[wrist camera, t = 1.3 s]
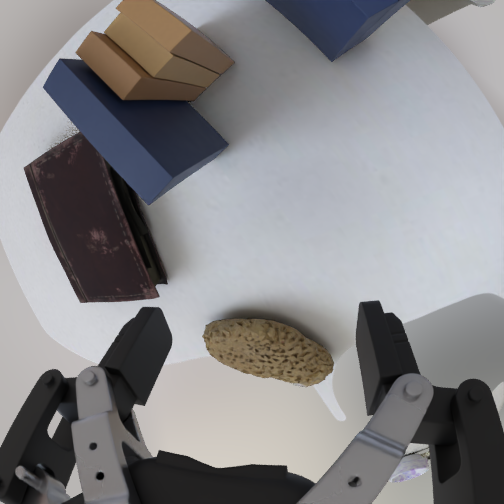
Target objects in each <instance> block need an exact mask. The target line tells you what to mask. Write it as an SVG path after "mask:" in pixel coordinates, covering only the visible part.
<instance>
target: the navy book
mask: <svg viewBox="0 0 504 504" xmlns="http://www.w3.org/2000/svg"><path fill="white" fill-rule="evenodd" d="M43 88H44V89H45V91H46V92H47V93H48V94H49V95H50V97H51V98H52V99H53V100H54V101H55V103H56V104H57V105H58V106H59V107H60V108H61V110H62V111H63V112H64V113H65V114H66V115H67V117H68V118H69V119H70V120H71V121H72V122H73V124H74V125H75V126H76V127H77V128H78V129H79V130H80V132H81V133H82V134H83V135H84V136H85V137H86V138H87V140H88V141H89V142H90V143H91V144H92V145H93V146H94V147H95V148H96V150H97V151H98V152H99V153H100V154H101V155H102V156H103V157H104V158H105V160H106V161H107V162H108V163H109V164H110V165H111V166H112V167H113V168H114V169H115V170H116V172H117V173H118V174H119V175H120V176H121V177H122V178H123V179H124V180H125V181H126V182H127V183H128V184H129V185H130V187H131V188H132V189H133V190H134V191H135V192H136V193H137V194H138V195H139V196H140V197H141V198H142V199H143V200H144V201H145V202H146V203H147V204H148V205H150V204H151V203H153V202H154V201H155V200H157V199H158V198H159V197H161V196H162V195H163V194H165V193H166V192H167V191H169V190H170V189H172V188H173V187H174V186H176V185H177V184H178V183H180V182H181V181H183V180H184V179H186V178H187V177H188V176H190V175H191V174H193V173H194V172H196V171H197V170H199V169H200V168H202V167H203V166H205V165H206V164H208V163H209V162H211V161H212V160H213V159H214V158H216V157H217V156H218V155H219V154H220V153H221V152H222V151H223V150H224V149H225V148H226V147H227V146H228V145H229V144H228V143H227V142H226V141H225V140H224V139H223V138H222V137H221V135H220V134H219V133H218V132H217V131H216V130H215V129H214V128H213V127H212V126H211V125H210V124H209V123H208V122H207V121H206V120H205V119H204V118H203V117H202V116H201V115H200V114H199V113H198V112H197V111H196V110H195V109H194V108H193V107H192V106H191V105H190V104H189V103H188V102H187V101H185V100H122V99H121V98H120V97H119V96H118V95H117V94H116V93H115V92H114V91H113V90H112V89H111V88H110V87H109V86H108V85H107V84H106V83H105V82H104V81H103V80H102V79H101V78H100V77H99V76H98V75H97V74H96V73H95V72H94V71H93V70H92V69H91V68H90V67H89V66H88V65H87V64H86V63H85V62H84V61H83V60H76V59H59V60H58V62H57V63H56V65H55V67H54V68H53V70H52V72H51V74H50V75H49V77H48V79H47V81H46V82H45V84H44V86H43Z"/></svg>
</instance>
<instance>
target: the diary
mask: <svg viewBox="0 0 504 504" xmlns="http://www.w3.org/2000/svg"><path fill="white" fill-rule="evenodd" d="M24 171H25V174H26V177H27V180H28V183H29V186H30V189H31V191H32V194H33V197H34V199H35V202H36V205H37V207H38V210H39V213H40V216H41V219H42V222H43V224H44V227H45V230H46V232H47V235H48V238H49V240H50V242H51V245H52V247H53V249H54V251H55V253H56V255H57V257H58V259H59V261H60V263H61V265H62V267H63V269H64V270H65V272H66V275H67V277H68V279H69V281H70V283H71V285H72V287H73V289H74V291H75V293H76V295H77V297H78V299H79V301H80V303H87V302H121V301H135V300H144V299H153V298H158V297H159V294H158V292H157V290H156V288H155V286H156V285H157V284H168V283H167V278H166V275H165V272H164V270H163V267H162V264H161V262H160V259H159V256H158V253H157V251H156V248H155V245H154V243H153V240H152V238H151V235H150V233H149V230H148V228H147V225H146V223H145V220H144V218H143V215H142V212H141V210H140V207H139V203H138V200H137V196H136V193H135V191H134V190H133V189H132V188H131V187H130V185H129V184H128V183H127V182H126V181H125V180H124V179H123V178H122V177H121V176H120V175H119V174H118V173H117V172H116V170H115V169H114V168H113V167H112V166H111V165H110V164H109V163H108V162H107V161H106V160H105V158H104V157H103V156H102V155H101V154H100V153H99V152H98V151H97V150H96V148H95V147H94V146H93V145H92V144H91V143H90V142H89V141H88V140H87V138H86V137H85V136H84V135H83V134H82V133H81V132H79V133H77V134H76V135H74V136H72V137H70V138H69V139H67V140H65V141H63V142H62V143H60V144H58V145H57V146H55V147H54V148H52V149H50V150H49V151H47V152H46V153H44V154H43V155H41V156H40V157H38V158H37V159H36V160H34V161H33V162H31V163H30V164H28V165H27V166H26V167H24Z"/></svg>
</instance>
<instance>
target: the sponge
mask: <svg viewBox="0 0 504 504" xmlns="http://www.w3.org/2000/svg"><path fill="white" fill-rule="evenodd" d="M202 337H203V338H204V342H206V348H207V350H208V351H209V353H210V355H211V356H213V357H214V358H216V359H217V360H218V361H219V362H221V363H223V364H224V365H227V366H229V367H232V368H234V369H237V370H239V371H241V372H243V373H246V374H252V375H255V376H257V377H262V378H269V377H272V378H275V379H279V380H283V381H285V382H290V383H293V385H297V386H302V387H308V386H312V385H314V384H318V383H320V382H321V381H323V380H325V377H326V376H328V374H330V373H332V371H333V369H332V368H333V365H334V362H333V360H332V357H331V355H330V354H329V353H328V351H327V350H326V349H325V348H323V346H321V345H319V344H318V343H316V342H314V341H312V340H310V339H307V338H305V336H304V335H303V334H301V333H300V332H299V331H298V330H296V329H295V328H292V327H290V326H288V325H285V324H282V323H278V322H276V321H273V320H265V319H249V318H248V319H243V318H241V319H224V320H217V321H213V322H211V323H210V324H208V325H206V329H205V331H204V334H203V336H202Z"/></svg>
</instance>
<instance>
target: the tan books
mask: <svg viewBox="0 0 504 504" xmlns="http://www.w3.org/2000/svg"><path fill="white" fill-rule="evenodd" d="M116 9H117V10H118V11H120V12H121V13H120V14H119V15H118V16H117V17H116V19H115V20H114V21H113V22H112V23H111V24H110V26H109V27H108V28H107V29H106V30H105V32H104V33H105V34H102V33H98V32H93V31H91V32H90V33H89V35H88V36H87V37H86V39H85V40H84V41H83V43H82V44H81V46H80V47H79V48H78V50H77V51H76V54H77V55H78V56H79V57H80V58H81V59H82V60H83V61H84V62H85V63H86V64H87V65H88V66H89V67H90V68H91V69H92V70H93V71H94V72H95V73H96V74H97V75H98V76H99V77H100V78H101V79H102V80H103V81H104V82H105V83H106V84H107V85H108V86H109V87H110V88H111V89H112V90H113V91H114V92H115V93H116V94H117V95H118V96H119V97H120V98H121V99H122V100H185V101H194V100H195V99H196V98H197V97H198V96H199V95H200V94H201V93H202V92H203V91H204V90H205V89H206V88H208V87H209V86H210V85H211V84H212V83H213V82H214V81H215V80H216V79H217V78H218V77H219V76H220V74H223V73H224V72H225V71H226V70H227V69H228V68H229V67H230V66H232V65H233V64H234V63H235V62H234V61H233V60H232V59H231V58H230V57H229V56H228V55H227V54H225V53H224V52H223V51H222V50H221V49H220V48H219V47H218V46H217V45H215V44H214V43H213V42H212V41H211V40H210V39H208V38H207V37H206V36H205V35H204V34H203V33H201V32H200V31H199V30H198V29H196V28H195V27H194V26H192V25H191V24H190V23H188V22H187V21H186V20H184V19H183V18H181V17H180V16H178V15H177V14H176V13H174V12H173V11H171V10H170V9H168V8H167V7H165V6H164V5H162V4H161V3H159V2H157V1H156V0H123V1H122V2H121V3H120V4H119V5H118V6H117V7H116ZM205 87H206V88H205Z"/></svg>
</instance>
